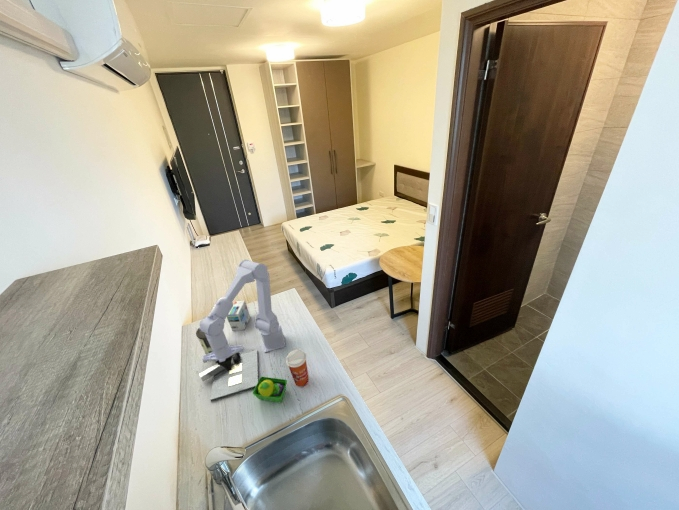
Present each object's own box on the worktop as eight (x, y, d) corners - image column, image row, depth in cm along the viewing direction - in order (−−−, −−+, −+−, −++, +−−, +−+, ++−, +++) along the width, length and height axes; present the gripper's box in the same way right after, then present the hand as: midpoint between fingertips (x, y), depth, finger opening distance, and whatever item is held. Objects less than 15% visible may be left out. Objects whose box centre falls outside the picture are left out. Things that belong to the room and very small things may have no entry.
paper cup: (295, 392, 105) (289, 368, 98) (289, 377, 111) (282, 353, 104) (314, 383, 108) (309, 358, 101) (307, 369, 114) (301, 345, 107)
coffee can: (233, 343, 130) (225, 321, 124) (221, 361, 122) (211, 338, 115) (215, 342, 133) (205, 320, 126) (201, 359, 124) (190, 336, 117)
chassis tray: (257, 351, 125) (255, 344, 122) (258, 387, 109) (255, 379, 106) (216, 363, 121) (213, 355, 119) (211, 401, 105) (207, 393, 103)
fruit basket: (290, 388, 107) (284, 368, 101) (281, 410, 99) (275, 390, 94) (263, 384, 109) (256, 365, 104) (253, 405, 102) (245, 386, 96)
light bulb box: (244, 330, 138) (238, 313, 133) (231, 331, 138) (225, 314, 133) (250, 315, 147) (245, 300, 142) (238, 316, 148) (232, 300, 142)
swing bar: (239, 360, 120) (237, 355, 118) (202, 381, 111) (200, 377, 110) (237, 357, 121) (235, 352, 119) (201, 378, 113) (199, 374, 111)
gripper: (196, 358, 96) (209, 382, 103) (239, 346, 99) (248, 371, 105) (199, 343, 102) (211, 367, 109) (239, 333, 105) (248, 357, 111)
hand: (229, 368), depth 107 cm, fingers closed
